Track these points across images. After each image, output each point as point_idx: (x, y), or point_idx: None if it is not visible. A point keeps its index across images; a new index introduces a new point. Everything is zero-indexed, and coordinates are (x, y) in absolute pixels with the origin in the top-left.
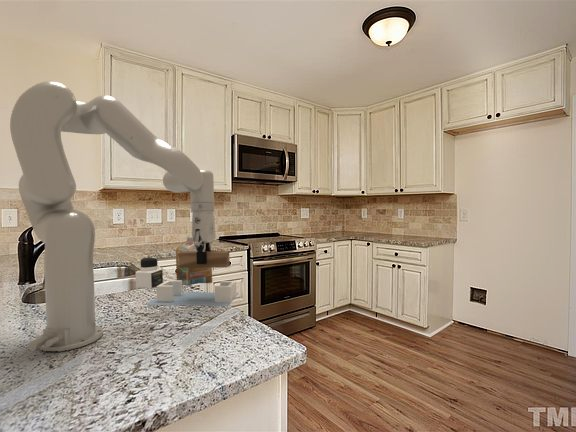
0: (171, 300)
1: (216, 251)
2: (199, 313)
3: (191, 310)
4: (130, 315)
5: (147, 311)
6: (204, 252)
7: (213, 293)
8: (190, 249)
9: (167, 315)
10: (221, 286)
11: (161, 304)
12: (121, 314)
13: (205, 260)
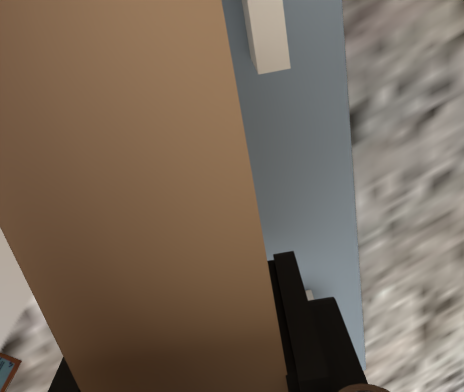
0: (312, 296)
1: (123, 258)
2: (419, 72)
3: (374, 143)
4: (452, 352)
5: (402, 324)
6: (333, 389)
7: None
8: None
9: (451, 216)
10: (267, 9)
11: (352, 311)
12: (440, 385)
13: (302, 282)
